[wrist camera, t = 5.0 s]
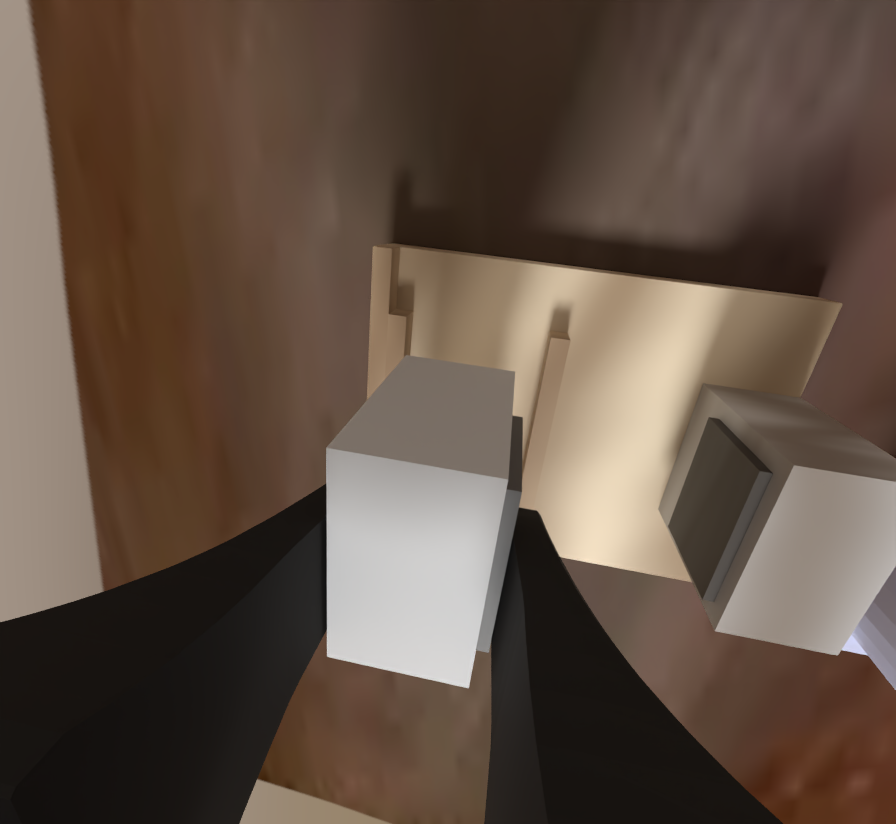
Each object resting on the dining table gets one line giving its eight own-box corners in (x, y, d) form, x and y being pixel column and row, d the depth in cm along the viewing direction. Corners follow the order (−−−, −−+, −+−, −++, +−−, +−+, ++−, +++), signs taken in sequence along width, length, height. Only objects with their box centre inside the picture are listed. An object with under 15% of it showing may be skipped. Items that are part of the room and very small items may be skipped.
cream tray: (818, 297, 14) (1034, 352, 8) (703, 565, 19) (788, 729, 13) (392, 243, 16) (308, 256, 10) (377, 504, 20) (313, 626, 14)
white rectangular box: (526, 373, 12) (526, 482, 7) (497, 524, 14) (483, 691, 9) (406, 355, 12) (326, 447, 7) (395, 505, 14) (327, 656, 9)
